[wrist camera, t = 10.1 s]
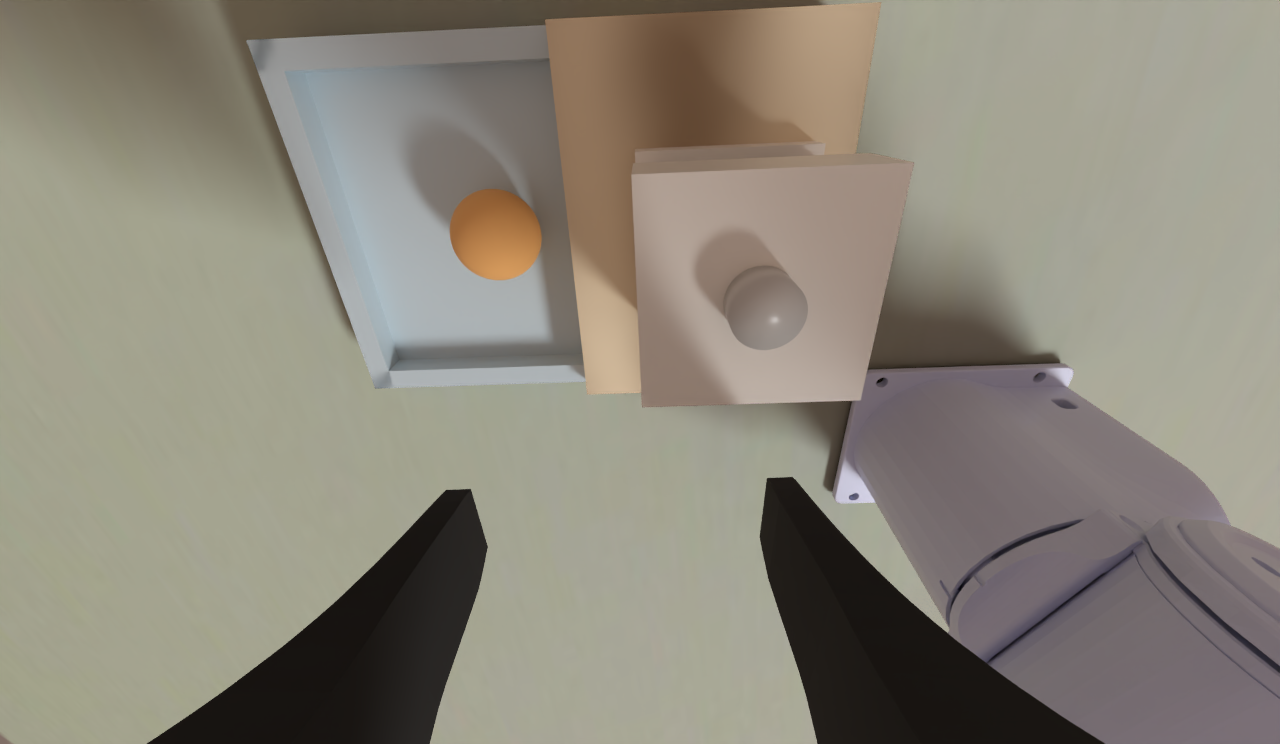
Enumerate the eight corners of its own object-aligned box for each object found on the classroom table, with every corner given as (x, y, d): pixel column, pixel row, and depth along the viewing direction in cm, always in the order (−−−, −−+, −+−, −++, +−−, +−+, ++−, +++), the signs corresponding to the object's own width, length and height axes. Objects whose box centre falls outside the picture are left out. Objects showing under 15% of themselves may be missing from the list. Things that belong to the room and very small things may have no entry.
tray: (561, 33, 15) (551, 24, 14) (593, 358, 21) (589, 381, 20) (290, 47, 16) (246, 40, 14) (396, 365, 22) (375, 388, 20)
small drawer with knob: (814, 140, 14) (936, 167, 8) (793, 308, 17) (874, 419, 11) (635, 149, 14) (630, 180, 8) (641, 314, 17) (641, 426, 11)
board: (840, 19, 15) (881, 2, 13) (794, 351, 21) (816, 387, 18) (561, 33, 15) (544, 19, 13) (593, 358, 21) (587, 394, 19)
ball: (492, 177, 17) (552, 183, 16) (510, 257, 19) (565, 270, 17) (418, 196, 15) (478, 205, 14) (445, 284, 17) (501, 301, 15)
